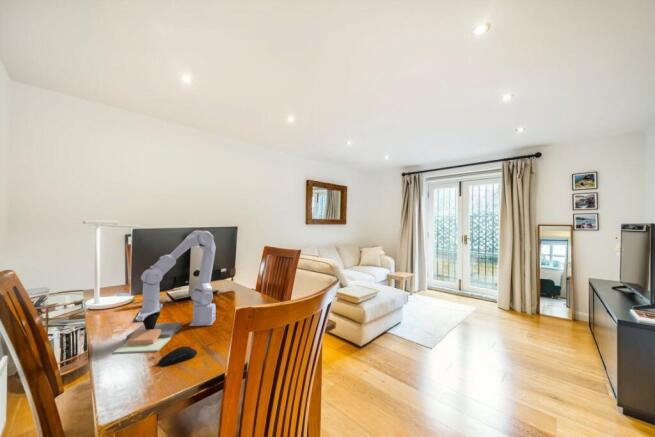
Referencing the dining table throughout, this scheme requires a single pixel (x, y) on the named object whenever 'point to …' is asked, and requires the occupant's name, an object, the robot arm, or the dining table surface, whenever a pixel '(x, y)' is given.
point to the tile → (144, 337)
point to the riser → (162, 329)
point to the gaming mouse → (177, 356)
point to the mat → (142, 347)
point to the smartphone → (136, 317)
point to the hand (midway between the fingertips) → (150, 331)
